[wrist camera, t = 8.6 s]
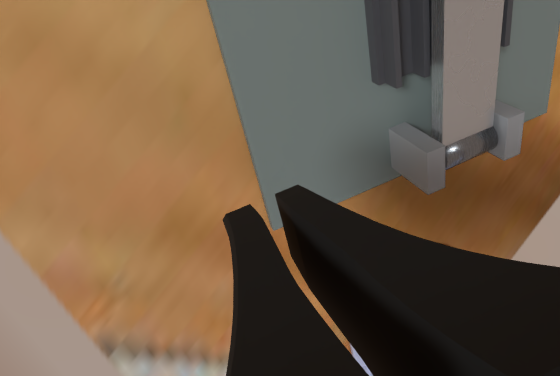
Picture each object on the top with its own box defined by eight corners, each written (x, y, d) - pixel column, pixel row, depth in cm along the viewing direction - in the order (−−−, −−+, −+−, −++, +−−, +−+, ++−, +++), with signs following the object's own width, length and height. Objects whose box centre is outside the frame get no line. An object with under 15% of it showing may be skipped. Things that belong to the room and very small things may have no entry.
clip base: (540, 110, 27) (594, 131, 25) (271, 226, 24) (298, 267, 21) (595, -285, 18) (694, -323, 15) (151, -190, 14) (172, -218, 11)
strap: (474, 141, 24) (496, 154, 23) (426, 162, 23) (447, 176, 22) (495, -207, 16) (533, -218, 14) (423, -190, 15) (456, -199, 14)
